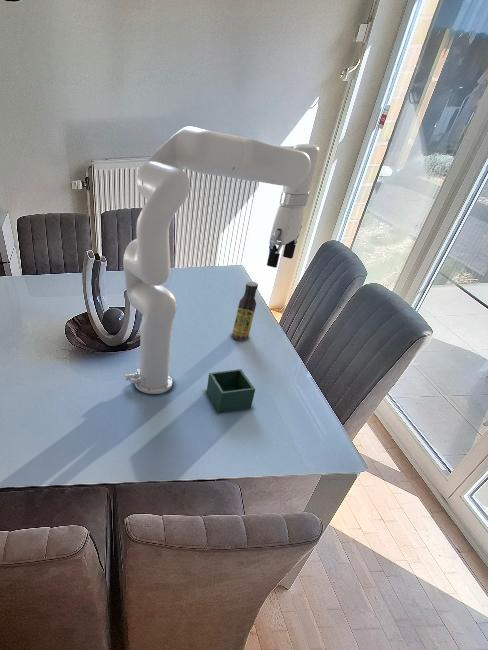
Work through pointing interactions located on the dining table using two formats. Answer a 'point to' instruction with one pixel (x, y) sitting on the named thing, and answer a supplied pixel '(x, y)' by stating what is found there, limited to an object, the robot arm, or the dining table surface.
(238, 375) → the dark green storage bin
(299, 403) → the dining table surface
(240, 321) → the sauce bottle
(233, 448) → the dining table surface
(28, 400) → the dining table surface
